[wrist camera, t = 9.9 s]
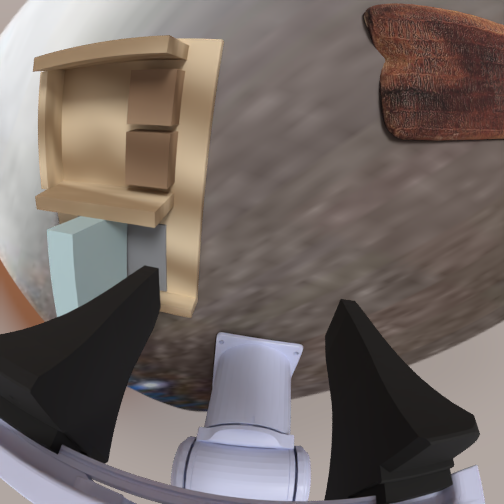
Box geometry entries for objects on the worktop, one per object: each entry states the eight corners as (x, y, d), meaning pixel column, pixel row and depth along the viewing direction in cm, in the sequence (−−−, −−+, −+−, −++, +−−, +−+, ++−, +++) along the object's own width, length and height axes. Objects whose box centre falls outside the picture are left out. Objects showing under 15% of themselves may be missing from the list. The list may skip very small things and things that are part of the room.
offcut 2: (174, 182, 19) (166, 189, 17) (135, 177, 19) (125, 184, 17) (178, 131, 17) (170, 134, 15) (136, 128, 17) (126, 131, 15)
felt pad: (167, 290, 23) (166, 291, 23) (87, 271, 23) (86, 273, 23) (166, 224, 20) (165, 225, 20) (78, 211, 20) (77, 212, 20)
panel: (127, 305, 22) (86, 354, 16) (107, 300, 22) (63, 345, 16) (128, 209, 20) (72, 234, 13) (105, 206, 20) (47, 229, 13)
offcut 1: (179, 123, 17) (170, 126, 15) (137, 121, 17) (126, 124, 15) (185, 71, 15) (177, 69, 13) (142, 71, 15) (131, 70, 13)
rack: (197, 300, 24) (185, 334, 21) (72, 272, 24) (50, 297, 21) (224, 41, 14) (209, 26, 11) (61, 54, 14) (26, 53, 11)
